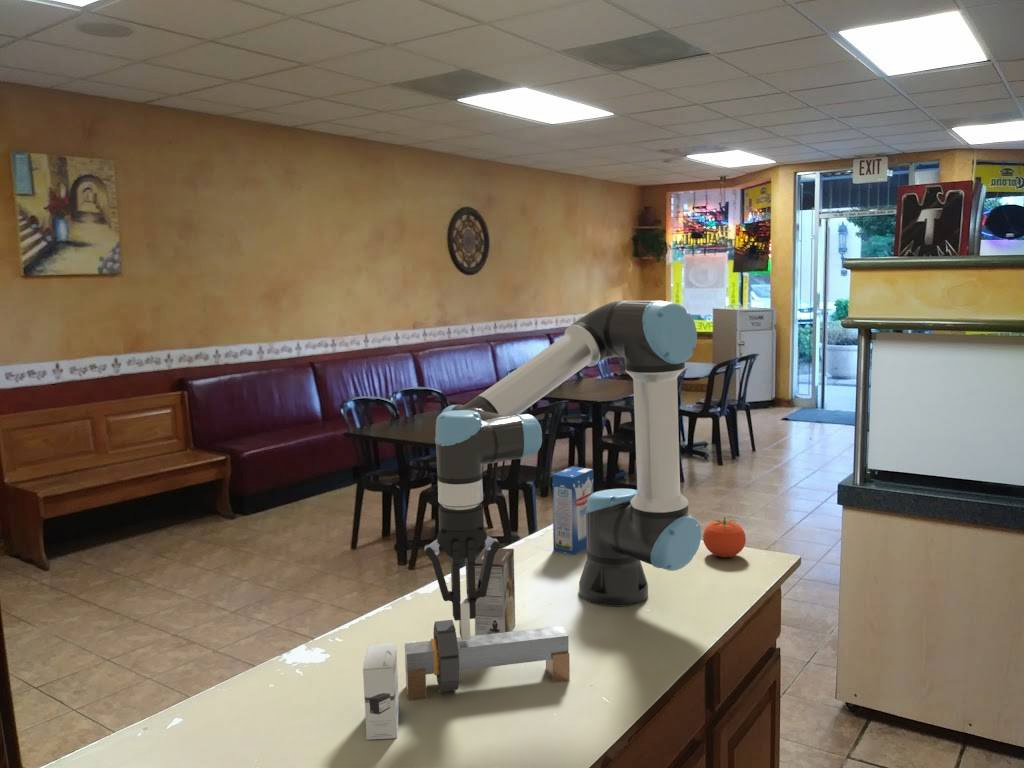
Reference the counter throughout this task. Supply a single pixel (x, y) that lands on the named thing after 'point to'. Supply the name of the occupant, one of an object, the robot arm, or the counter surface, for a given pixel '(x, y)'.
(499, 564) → the coffee box
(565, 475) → the milk carton
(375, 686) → the ink box
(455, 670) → the gray octagonal collar
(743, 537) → the tomato
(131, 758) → the counter surface
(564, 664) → the pipe
